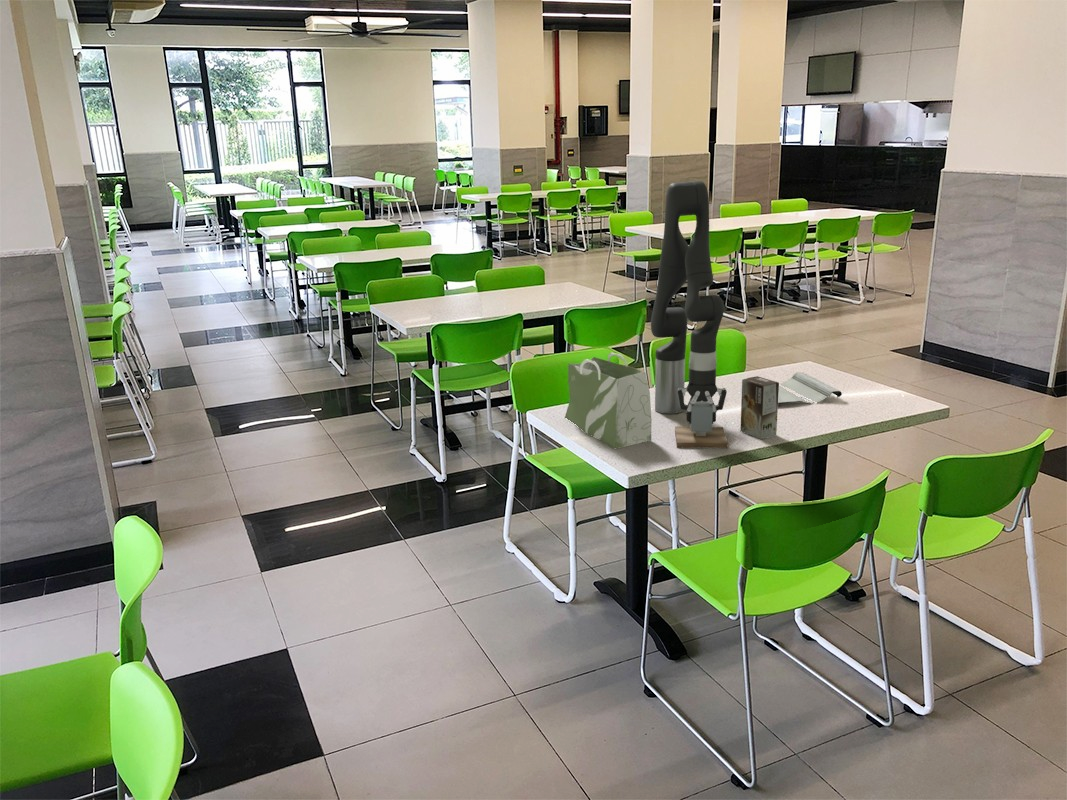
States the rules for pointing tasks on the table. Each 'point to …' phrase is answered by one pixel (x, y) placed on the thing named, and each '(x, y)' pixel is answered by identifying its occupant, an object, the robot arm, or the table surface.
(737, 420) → the table surface
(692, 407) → the slate grey cube
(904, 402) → the table surface
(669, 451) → the table surface
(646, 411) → the grocery bag
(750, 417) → the coffee box
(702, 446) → the flat brown square board
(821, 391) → the mat
